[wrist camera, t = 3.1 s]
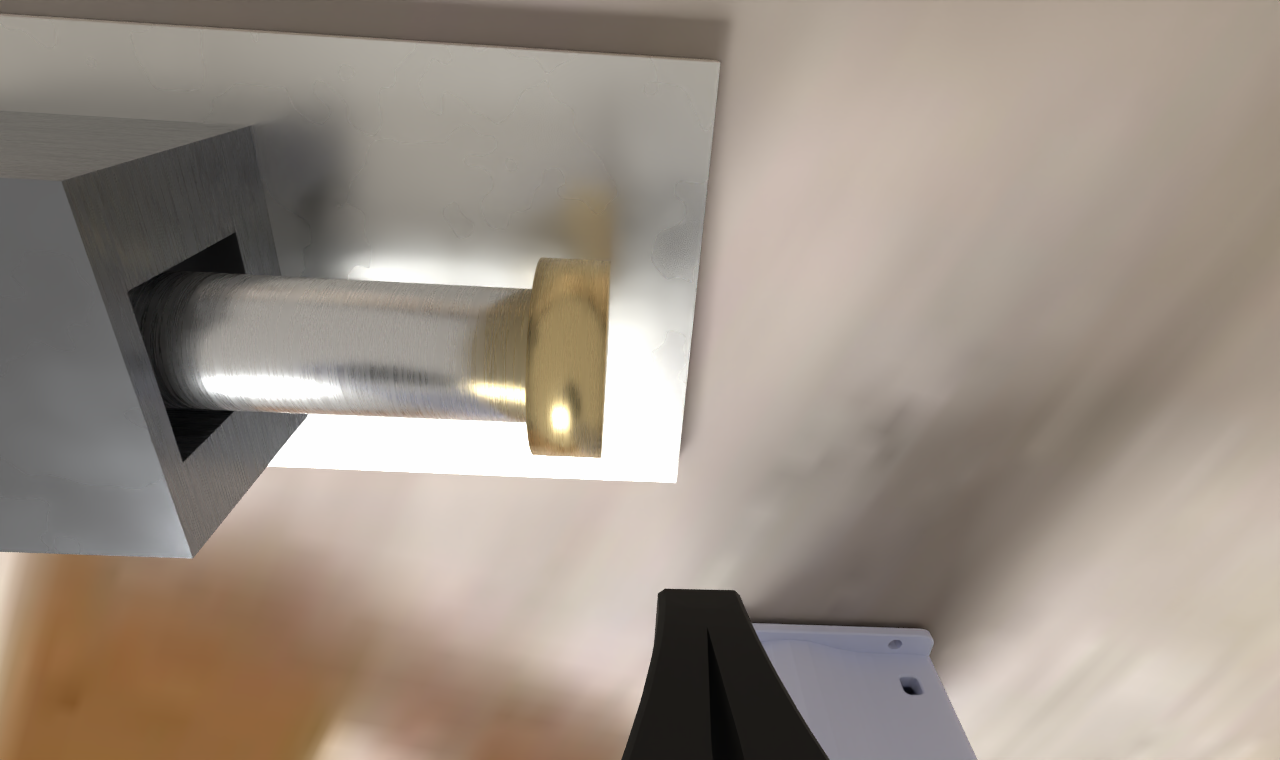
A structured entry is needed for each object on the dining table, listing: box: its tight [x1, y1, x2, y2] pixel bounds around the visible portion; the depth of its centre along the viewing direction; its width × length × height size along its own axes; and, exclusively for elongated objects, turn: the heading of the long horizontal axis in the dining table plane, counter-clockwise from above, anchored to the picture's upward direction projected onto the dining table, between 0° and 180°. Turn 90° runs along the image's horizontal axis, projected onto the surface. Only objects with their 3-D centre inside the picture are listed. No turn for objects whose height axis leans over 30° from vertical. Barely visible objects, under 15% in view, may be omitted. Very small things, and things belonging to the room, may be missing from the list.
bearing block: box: [0, 14, 720, 558], centre depth 16 cm, size 22×12×7 cm, turn 87°
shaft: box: [127, 257, 611, 458], centre depth 15 cm, size 15×4×4 cm, turn 87°
